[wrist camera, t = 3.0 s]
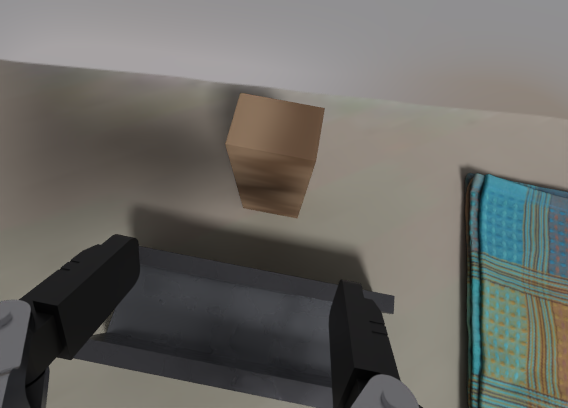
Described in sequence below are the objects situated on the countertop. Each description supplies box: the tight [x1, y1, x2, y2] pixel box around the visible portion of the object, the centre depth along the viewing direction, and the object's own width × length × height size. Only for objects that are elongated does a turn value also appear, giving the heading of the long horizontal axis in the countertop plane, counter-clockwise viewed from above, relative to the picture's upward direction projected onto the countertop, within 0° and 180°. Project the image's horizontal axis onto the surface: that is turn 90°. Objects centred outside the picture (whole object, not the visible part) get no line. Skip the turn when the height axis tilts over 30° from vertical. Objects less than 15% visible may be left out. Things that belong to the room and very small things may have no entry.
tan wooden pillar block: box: [225, 93, 325, 218], centre depth 21 cm, size 5×4×11 cm
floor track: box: [73, 246, 394, 408], centre depth 21 cm, size 20×8×4 cm, turn 79°
